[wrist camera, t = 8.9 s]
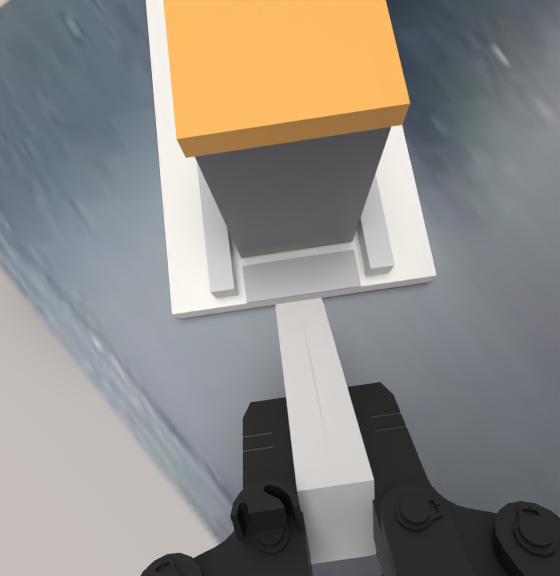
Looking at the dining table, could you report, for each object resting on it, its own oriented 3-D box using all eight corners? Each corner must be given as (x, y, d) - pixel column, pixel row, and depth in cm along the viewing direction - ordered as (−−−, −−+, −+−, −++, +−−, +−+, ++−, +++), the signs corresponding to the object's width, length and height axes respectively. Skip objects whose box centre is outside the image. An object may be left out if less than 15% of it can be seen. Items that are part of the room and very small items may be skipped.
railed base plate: (428, 282, 24) (445, 267, 22) (179, 318, 25) (163, 309, 22) (357, -33, 29) (363, -80, 27) (152, -1, 30) (135, -43, 27)
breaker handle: (357, 244, 23) (410, 103, 12) (237, 261, 23) (176, 139, 12) (339, 153, 25) (372, -54, 13) (226, 170, 25) (161, -21, 13)
